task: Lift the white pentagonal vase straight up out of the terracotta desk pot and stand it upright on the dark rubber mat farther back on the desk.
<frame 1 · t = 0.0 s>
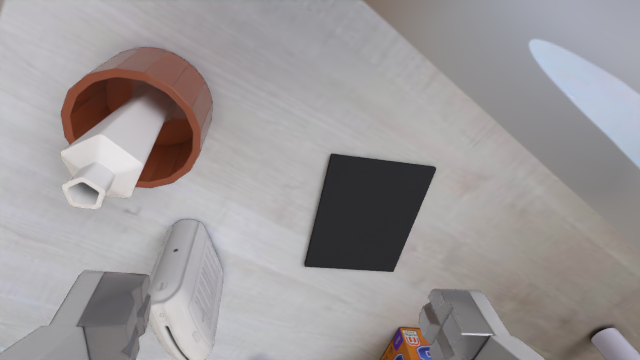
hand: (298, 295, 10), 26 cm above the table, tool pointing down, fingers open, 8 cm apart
photo printer: (198, 250, 43), on the table
mat: (365, 218, 43), on the table
perfume bottle 2: (600, 331, 63), on the table
game box: (422, 357, 61), on the table
white pentagonal vase: (157, 102, 33), resting on desk pot
desk pot: (158, 101, 33), on the table
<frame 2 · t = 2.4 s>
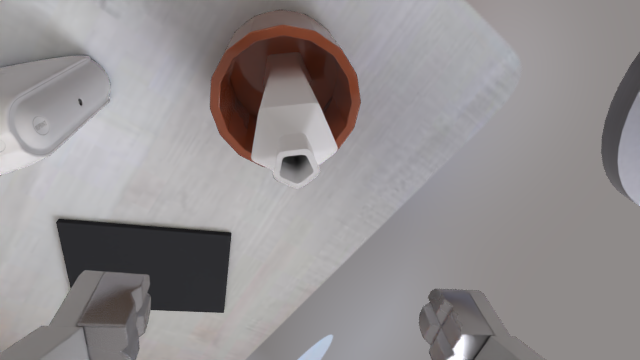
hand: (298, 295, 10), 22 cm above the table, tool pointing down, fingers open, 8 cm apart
photo printer: (45, 86, 28), on the table
mat: (151, 269, 39), on the table
white pentagonal vase: (284, 75, 29), resting on desk pot
desk pot: (284, 75, 29), on the table
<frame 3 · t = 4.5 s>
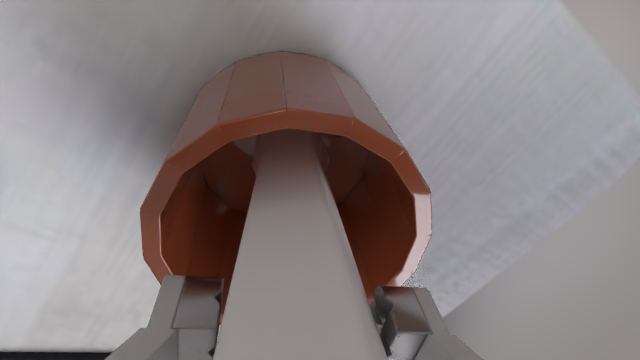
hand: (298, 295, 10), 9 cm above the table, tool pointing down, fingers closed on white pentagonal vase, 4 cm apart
white pentagonal vase: (286, 152, 18), resting on desk pot, touching gripper
desk pot: (285, 150, 18), on the table
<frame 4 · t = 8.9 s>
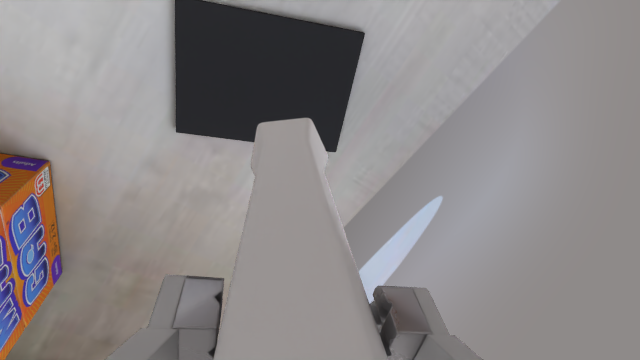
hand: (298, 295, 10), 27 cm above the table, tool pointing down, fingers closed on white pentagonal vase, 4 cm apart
mat: (266, 83, 34), on the table
white pentagonal vase: (284, 151, 18), point 18 cm above the table, touching gripper
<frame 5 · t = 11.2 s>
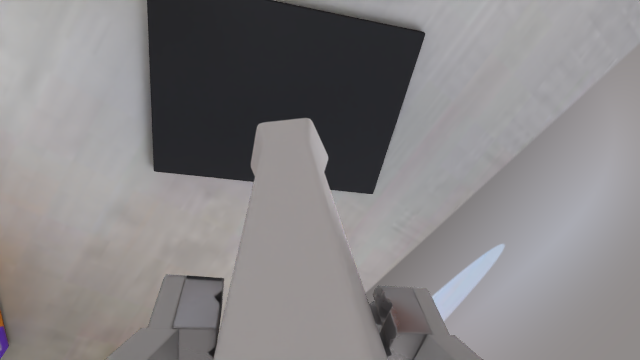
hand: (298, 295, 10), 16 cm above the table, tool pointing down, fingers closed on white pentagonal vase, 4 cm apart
mat: (281, 103, 24), on the table
white pentagonal vase: (284, 152, 18), point 7 cm above the table, touching gripper
when the fingers open (9 cm above the table, at t = 13.2 s): white pentagonal vase stays where it is, resting on mat.
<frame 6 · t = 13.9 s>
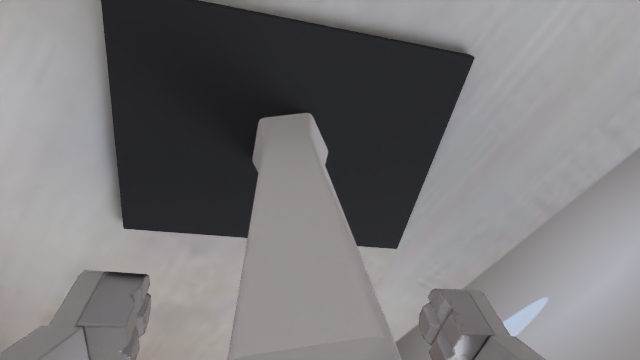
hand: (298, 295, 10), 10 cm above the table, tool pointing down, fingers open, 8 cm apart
mat: (285, 145, 19), on the table
white pentagonal vase: (285, 146, 18), resting on mat
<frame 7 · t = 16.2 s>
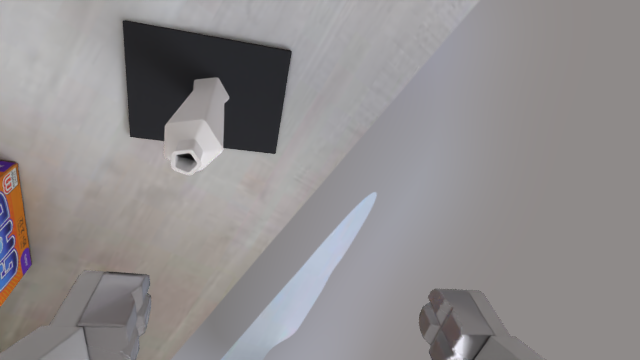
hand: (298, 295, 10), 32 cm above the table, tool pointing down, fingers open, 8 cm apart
mat: (208, 94, 39), on the table
white pentagonal vase: (208, 94, 39), resting on mat
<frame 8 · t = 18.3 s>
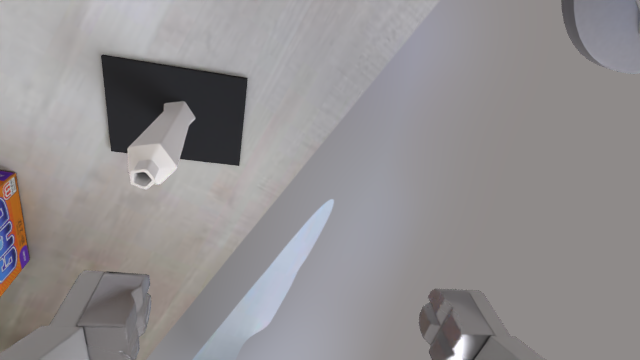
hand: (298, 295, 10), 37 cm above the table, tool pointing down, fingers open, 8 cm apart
mat: (177, 114, 45), on the table
white pentagonal vase: (177, 115, 45), resting on mat
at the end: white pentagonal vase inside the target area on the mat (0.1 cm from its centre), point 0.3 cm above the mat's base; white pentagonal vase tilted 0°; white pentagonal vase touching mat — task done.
